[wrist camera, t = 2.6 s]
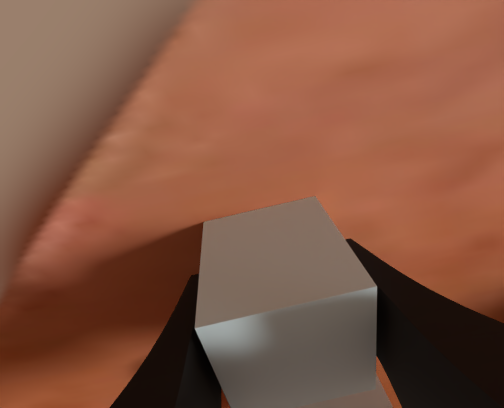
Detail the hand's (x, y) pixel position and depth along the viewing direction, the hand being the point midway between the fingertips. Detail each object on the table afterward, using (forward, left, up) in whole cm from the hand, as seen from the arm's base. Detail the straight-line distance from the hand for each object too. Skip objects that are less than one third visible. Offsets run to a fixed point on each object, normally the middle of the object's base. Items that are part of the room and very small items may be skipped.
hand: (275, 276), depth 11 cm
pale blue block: (0, 0, -2) cm, 2 cm away
